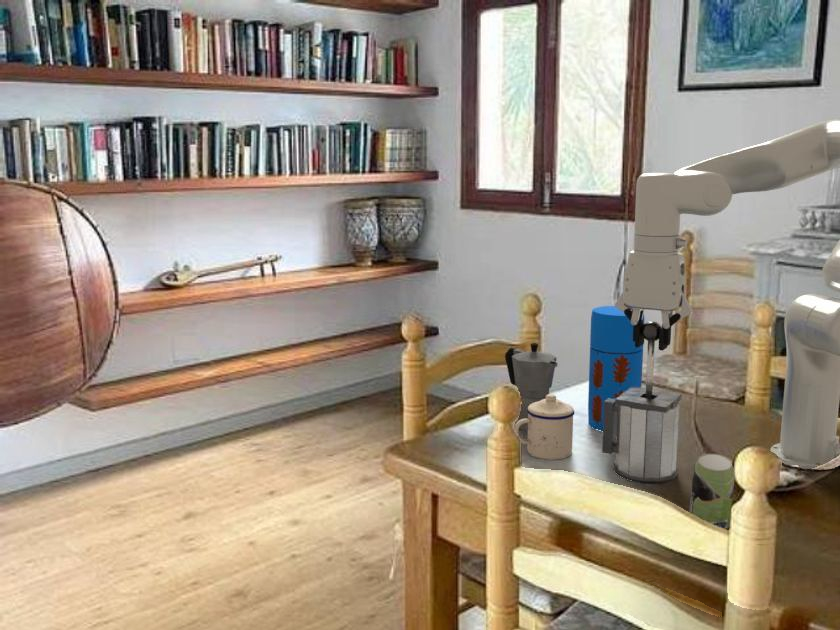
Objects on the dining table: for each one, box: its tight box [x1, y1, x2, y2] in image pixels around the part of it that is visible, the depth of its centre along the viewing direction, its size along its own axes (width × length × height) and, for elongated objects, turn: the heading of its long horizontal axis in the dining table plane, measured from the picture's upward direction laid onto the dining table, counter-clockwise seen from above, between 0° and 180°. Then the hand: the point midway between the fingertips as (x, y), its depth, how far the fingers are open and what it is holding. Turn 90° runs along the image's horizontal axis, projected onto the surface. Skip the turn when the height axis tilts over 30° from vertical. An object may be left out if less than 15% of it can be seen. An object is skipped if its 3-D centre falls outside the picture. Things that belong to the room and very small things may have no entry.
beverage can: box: [689, 453, 736, 529], centre depth 131 cm, size 6×7×12 cm
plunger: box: [641, 320, 662, 399], centre depth 151 cm, size 7×7×18 cm
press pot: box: [601, 386, 682, 485], centre depth 154 cm, size 14×11×14 cm
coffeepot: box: [504, 342, 558, 432], centre depth 181 cm, size 15×9×18 cm, turn 36°
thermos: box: [587, 305, 645, 432], centre depth 178 cm, size 11×11×25 cm
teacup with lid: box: [513, 393, 575, 461], centre depth 164 cm, size 12×9×12 cm
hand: (651, 346), depth 150 cm, fingers closed on plunger, 3 cm apart
